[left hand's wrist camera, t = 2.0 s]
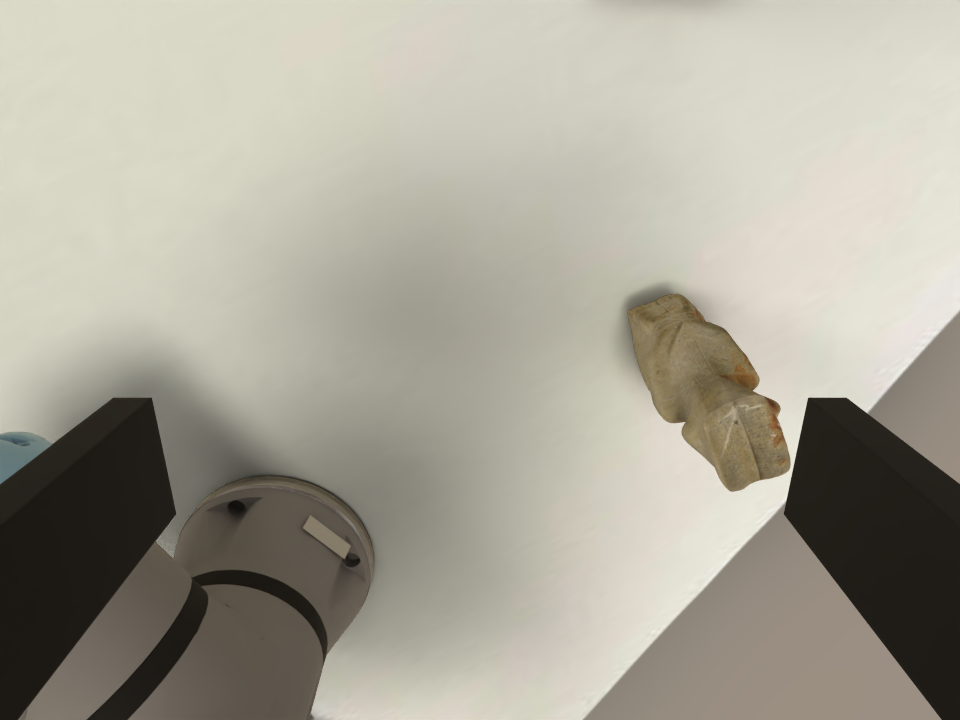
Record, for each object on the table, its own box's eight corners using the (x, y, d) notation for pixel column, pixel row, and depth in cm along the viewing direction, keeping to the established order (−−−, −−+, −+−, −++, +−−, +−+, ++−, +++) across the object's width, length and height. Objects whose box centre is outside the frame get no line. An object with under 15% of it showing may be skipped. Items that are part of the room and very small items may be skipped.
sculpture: (633, 392, 45) (702, 514, 31) (607, 302, 43) (668, 391, 29) (712, 367, 45) (818, 481, 31) (690, 274, 42) (795, 351, 28)
